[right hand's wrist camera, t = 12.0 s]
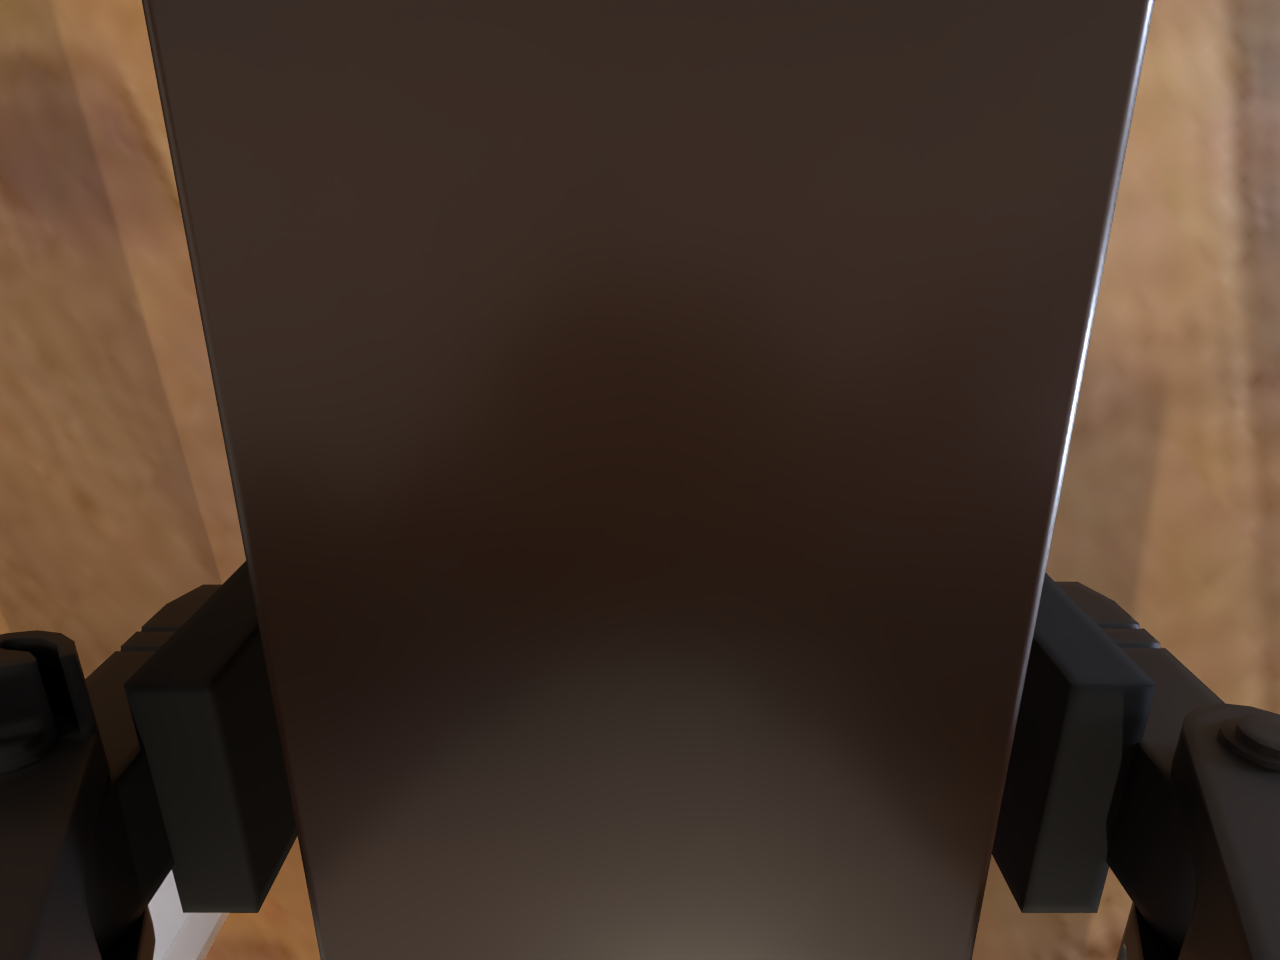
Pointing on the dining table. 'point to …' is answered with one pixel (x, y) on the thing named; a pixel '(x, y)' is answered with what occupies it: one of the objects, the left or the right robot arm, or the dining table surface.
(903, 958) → the walnut box
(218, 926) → the ceramic cup
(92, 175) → the dining table surface
